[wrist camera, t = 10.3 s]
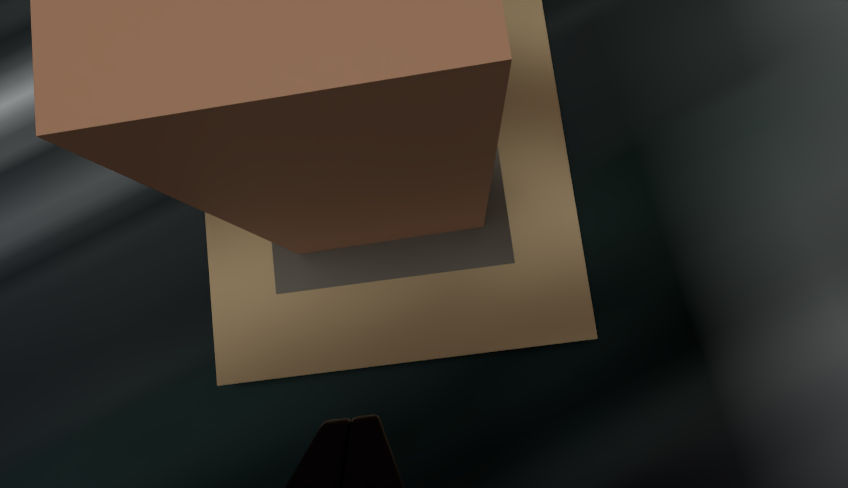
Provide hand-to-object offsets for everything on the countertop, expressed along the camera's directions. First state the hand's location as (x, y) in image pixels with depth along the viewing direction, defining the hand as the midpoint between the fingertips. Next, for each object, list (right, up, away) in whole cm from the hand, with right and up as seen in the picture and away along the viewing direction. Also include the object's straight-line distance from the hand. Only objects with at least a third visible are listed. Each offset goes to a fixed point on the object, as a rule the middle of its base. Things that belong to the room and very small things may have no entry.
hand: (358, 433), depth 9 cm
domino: (0, +4, +7) cm, 8 cm away
